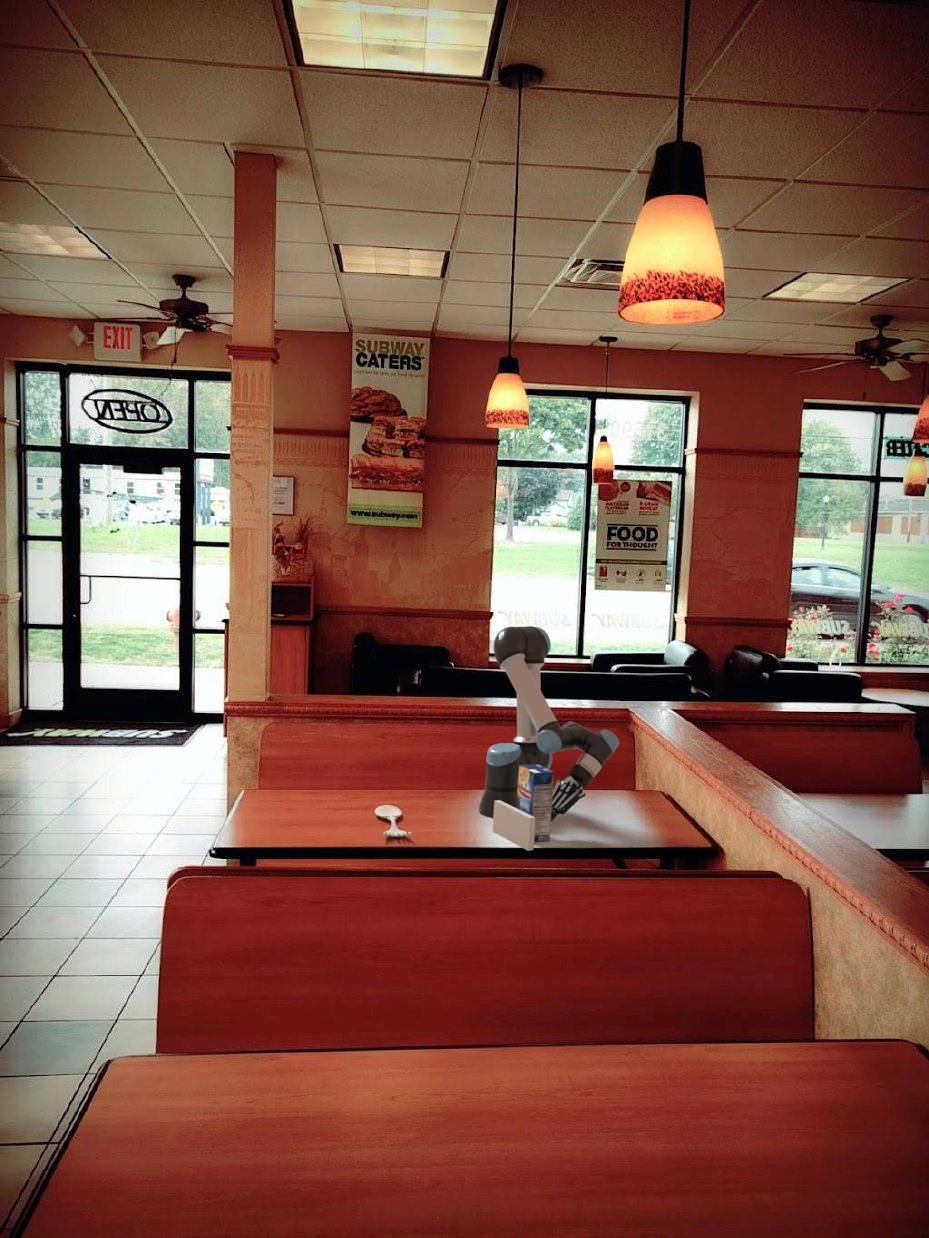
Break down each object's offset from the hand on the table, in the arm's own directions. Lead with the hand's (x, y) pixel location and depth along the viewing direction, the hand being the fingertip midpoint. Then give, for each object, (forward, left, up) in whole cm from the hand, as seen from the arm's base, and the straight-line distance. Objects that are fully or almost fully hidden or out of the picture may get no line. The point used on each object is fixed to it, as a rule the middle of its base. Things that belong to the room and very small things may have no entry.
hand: (540, 826), depth 265 cm
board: (-1, -10, -3) cm, 11 cm away
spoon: (-27, -39, -4) cm, 48 cm away
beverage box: (-1, -2, -4) cm, 4 cm away
